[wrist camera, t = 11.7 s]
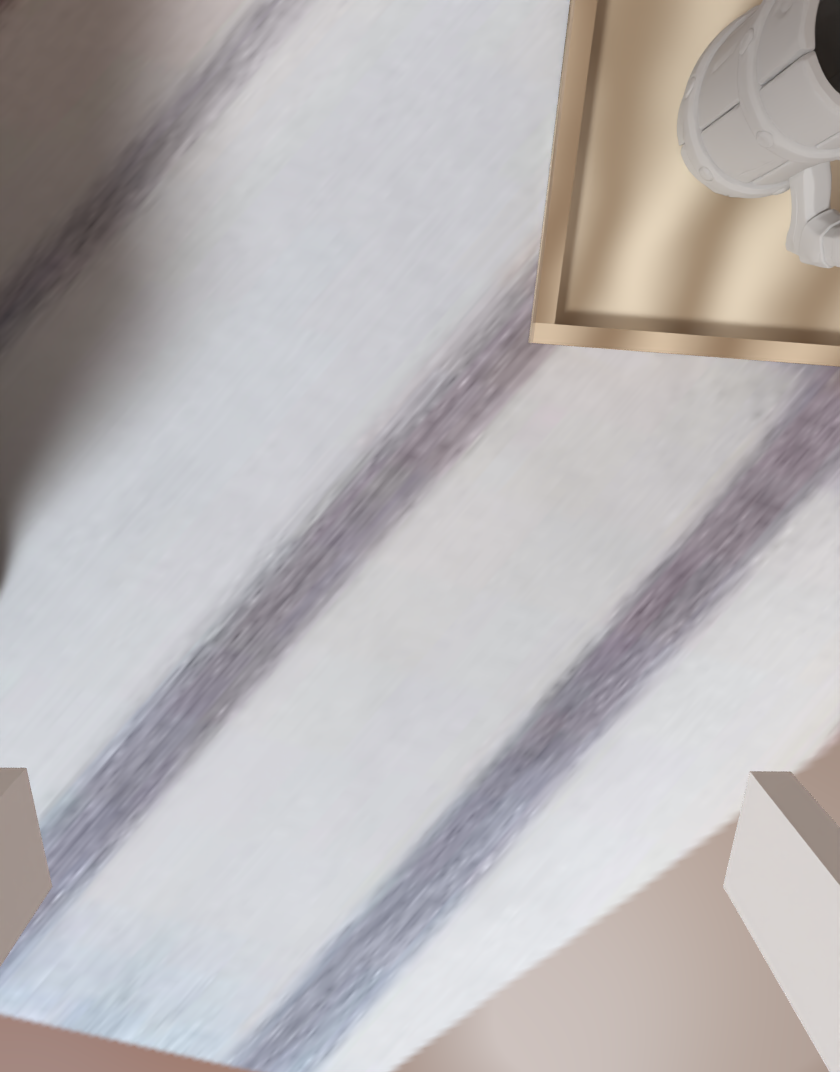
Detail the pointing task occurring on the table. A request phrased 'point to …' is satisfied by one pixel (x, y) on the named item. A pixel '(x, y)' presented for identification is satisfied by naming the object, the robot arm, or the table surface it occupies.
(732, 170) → the mug
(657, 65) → the square serving tray
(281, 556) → the table surface
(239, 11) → the table surface
